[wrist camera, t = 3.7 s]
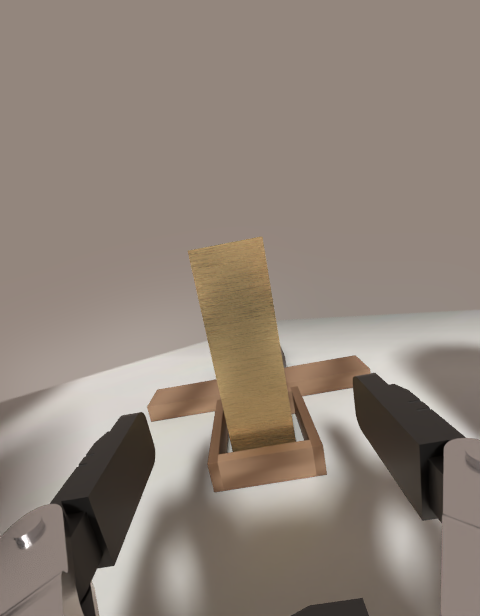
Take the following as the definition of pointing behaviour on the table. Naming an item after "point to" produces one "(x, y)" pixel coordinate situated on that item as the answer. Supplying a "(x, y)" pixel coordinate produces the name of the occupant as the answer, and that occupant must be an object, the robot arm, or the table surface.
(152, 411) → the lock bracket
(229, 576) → the table surface
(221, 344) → the tan wooden block
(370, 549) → the table surface
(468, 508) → the robot arm
